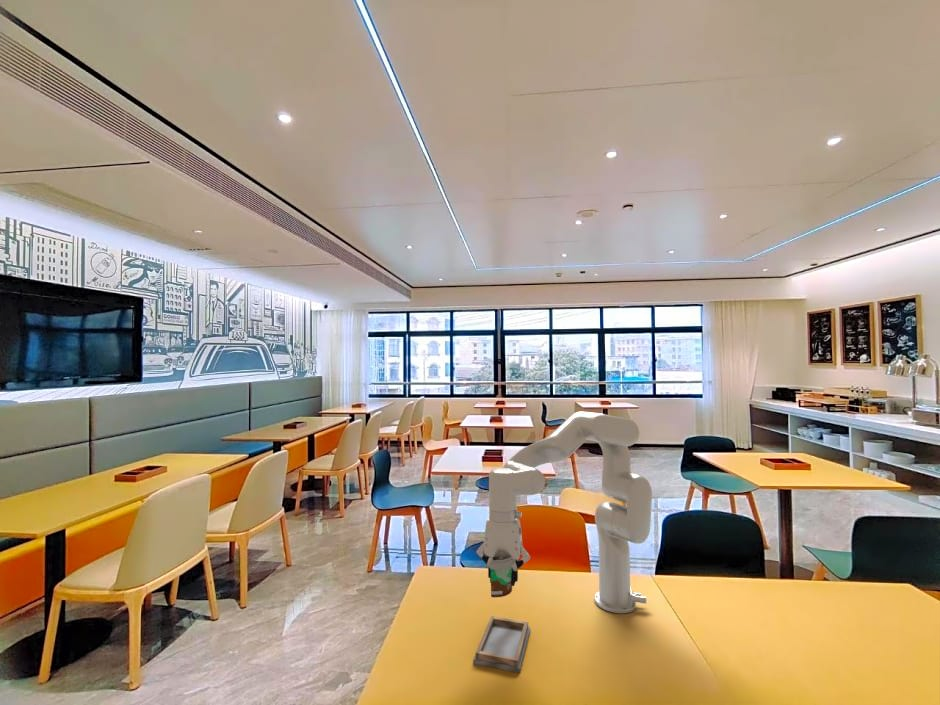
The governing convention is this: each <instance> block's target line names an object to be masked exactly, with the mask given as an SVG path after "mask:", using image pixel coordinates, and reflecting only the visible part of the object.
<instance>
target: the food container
mask: <svg viewBox="0 0 940 705" xmlns="http://www.w3.org/2000/svg"><path fill="white" fill-rule="evenodd" d="M514 564H515V562H514V560H513V559H512V557H510V558H507V559H504V558H497V557H493V560H490V569H491V583H490V598H502V597H506V596H508V595H510V594H512V591H513V586H512V585H511V575H512V570H513V567H512V565H514Z"/></svg>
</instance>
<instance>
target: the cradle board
mask: <svg viewBox="0 0 940 705" xmlns="http://www.w3.org/2000/svg"><path fill="white" fill-rule="evenodd" d="M530 633H531V626H529V622H528V621H525V620H524V621H522V620H517V619H511V618H510V619H509V618H506V617H505V618H504V617H499V616H492V615H491V616H490V618H489V620H488V623H487V625H486V627H485V630H484V632H483V635H482V637H481V640H480V642H479V644H478V647H477V649H476V651H475V653H474V654H475V655H474V656H473V659H472V664H474V665H476V666H477V665H478V666H484V667H489V668H492V669H493V668H494V669H498V670H499V669H500V670H503V671H508V672H512V673H516V674H517V673H518V674H520V673H521V669H522V666H523V665H522V664H523V661H524V657H525V654H526V649H527V646H528V641H529V637H530Z"/></svg>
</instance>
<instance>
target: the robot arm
mask: <svg viewBox="0 0 940 705" xmlns="http://www.w3.org/2000/svg"><path fill="white" fill-rule="evenodd" d="M639 436H640V428H639V426H638V424H637V423H636V422H635V421H634V420H632V419H630V418H625V417H621V416H614V415H609V414H605V413H600V412H590V411H577V412H573V413H572V414H571V415H570V416H568V417H567V419H566V420H564V422H562V423H561V424H560V425H559V426H558V427H557V428H556V429H555V430H553V431H552V432H551V433H550V434H549V435H548V436H546V437H544V438H542V439H540V440H538V441H535V442H533V443H532V444H529V445H526V446H525V447H523V448H522V449H520V450H519V451H517V452H516V453H514V455H512V456H511V457H510V458H509V459H508V460H507V461H506V463H505V464H504V465H503V466H502V467H497V468H493V469H491V470H490V472H489V474H488V475H489V476H488V494H489V495H488V502H489V504H488V507H489V508H488V510H489V511H488V517H487V518H486V523H485V529H484V537H483V538H484V540H483V543H482V544H481V545H480V546H479V547H478V548H477V550H476V552H475V553H476V554H477V555H478V556H479V558H481V559H482V561H483V563H485V564H486V567H487V568H488V572H487V574H488V575H487V576H488V579H489V578H490V579H489V583H490V584H491V569H490V560H493V557H497V558H504V559H507V558H510V557H512V559H513V560H514V562H515V564H514V565H512V567H513V570H512V575H511V585H512V587H514V586H515V584H516V583H517V582H518V581H519V580H518V579H519V574H518V572H519V569H520V568H521V567H522V566H523V565H524V564H526V563H527V562H528V561H530V559H531V555H530V554H529V552H528V551H527V549H525V547H524V546H523V537H522V535H523V534H522V527H521V521H520V519H519V518H522V515H523V514H522V513H523V512H522V511H519V510H518V508H517V496H534V495H538V494H539V493H541V492H542V491H543V489H544V487H545V485H546V478H545V476H544V474H543V472H541V471H540V470H539V469H537V468H536V467H538V466H542V465H544V464H552V463H557V462H563V461H565V460H568V459H569V458H570V457H571V456H572V455H573V454H574V453H575V452H576V451H577V450H578V449H579V448H580V447H581V446H582V445H583V444H584V443H585V442H586V441H592V442H595V443H598V445H599V447H600V448H601V451H602V471H601V472H602V475H601V476H602V477H601V490H602V492H603V494H604V495H605V496H606V497H608V498H611V499H613V500H616V501H619V502H621V503H624V504H626V505H622V504H619V503H617V502H612V501H604V502H601V503H599V504H598V506H597V507H596V509H595V512H594V522H595V525H596V530H597V539H598V541H597V542H598V582H599V583H598V588H599V590H598V591H597V592H596V593H595V594H594V597H593V599H594V600H593V601H594V602H595V604H596V605H597V606H598V607H599V608H601V609H602V610H603V611H606V612H609V613H615V614H627V613H632V612H634V610H635V609H636V607H637V605H636V603H640V604H645V605H646V604H647V597H646V596H642V593H641V592H634V591H632V587H631V562H630V561H631V557H630V556H631V552H630V551H631V550H630V544H629V542H630V543H633V544H637V545H638V544H643V543H645V542H646V541H647V539H648V537H649V536H650V531H651V523H652V505H653V503H652V502H653V492H652V486H651V484H650V481H649V480H648V479H647V478H645V477H644V476H643V475H640V474H637V473H633V472H631V452H630V450H629V447H631V446H633V445H634V444H636V442H638V440H639ZM521 556H522V557H521Z"/></svg>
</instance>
